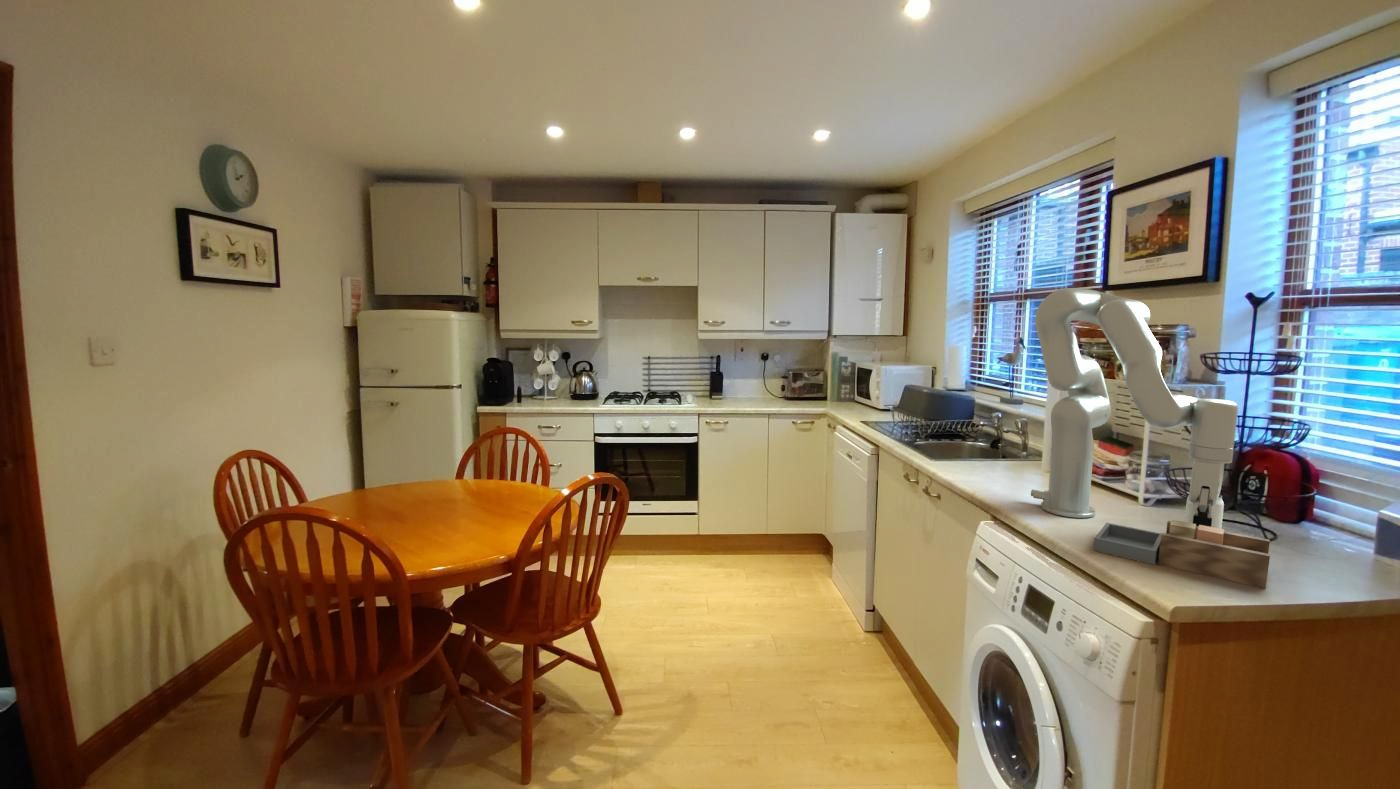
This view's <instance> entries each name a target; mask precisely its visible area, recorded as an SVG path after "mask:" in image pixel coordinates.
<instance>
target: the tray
mask: <svg viewBox="0 0 1400 789" xmlns="http://www.w3.org/2000/svg"><path fill="white" fill-rule="evenodd" d="M1162 533H1163V532H1156V531H1152V530H1151V531H1150V530H1146V529H1140V528H1136V527H1130V526H1126V525H1119V524H1116V523H1110V522H1106V523H1105V524H1104V525H1103V527H1102V528H1100V531H1099V532H1097V534H1096V535H1095V537H1094V540H1093V550H1095V551H1094V552H1097V551H1100V552H1099V553H1101V552H1104V553H1103V554H1105V553H1108V554H1107V555H1110V554H1112V555H1111V556H1114V555H1116V556H1115V557H1118V556H1121V557H1120V558H1123V557H1125V558H1124V559H1127V558H1130V559H1129V560H1132V559H1135V560H1134V561H1136V560H1139V561H1138V562H1140V561H1142V563H1145V562H1147V563H1146V564H1149V563H1151V564H1150V565H1153V564H1155V565H1156V562H1157V561H1158V560H1159V552H1160V542H1161V534H1162Z"/></svg>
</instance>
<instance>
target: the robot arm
mask: <svg viewBox="0 0 1400 789" xmlns="http://www.w3.org/2000/svg"><path fill="white" fill-rule="evenodd" d="M1034 318H1035V320H1034V324H1035V329H1036V334H1037V337H1038V340H1039V344H1040V349H1041V354H1042V360H1043V363H1044V367H1045V372H1046V376H1047V380H1048V383H1049V385H1050V386H1051V387H1052V388H1054V389H1055V390H1058V391H1059V392H1060V391H1061V392H1067V393H1068V396H1065V397H1063V398H1061V399H1059V400H1058V401H1057V402H1055V404H1054V405H1053V406H1052V408H1051V412H1050V424H1051V425H1050V426H1051V454H1050V455H1051V456H1050V464H1049V468H1050V469H1049V480H1048V490H1044V491H1040V490H1037V489H1031V492H1030V496H1031V497H1033V498H1034V499H1038V500H1042V502H1041V503H1040V507H1041V509H1042V510H1043V511H1045V512H1047V513H1050V514H1053V515H1057V516H1061V517H1062V516H1063V517H1065V518H1066V517H1068V518H1077V519H1085V518H1093V517H1094V516H1096V512H1097V511H1096V509H1094V508H1093V507H1092V506H1090V496H1091V488H1092V487H1091V485H1092V477H1093V476H1092V474H1093V464H1094V462H1093V460H1094V449H1095V448H1094V447H1095V446H1094V436H1093V429H1095V428H1099V427H1101V426H1102V425H1104V424H1106V423H1107V421H1109V419H1110V416H1111V413H1112V408H1111V402H1110V397H1109V393H1108V390H1107V389H1108V388H1107V386H1106V385H1107V384H1106V382H1105V381H1106V380H1105V376H1104V374H1103V370H1102V368H1101V366H1100V364H1099V363H1098V362H1097V360H1095V359H1094V358H1092V357H1090V356H1088V355H1085V354H1081V352H1080V348H1079V344H1078V339H1077V335H1076V334H1075V332H1074V330H1073V328H1072V326H1071V322H1072V321H1074V322H1075V321H1076V322H1077V321H1081V322H1086V323H1090V324H1094V325H1097V326H1099V327H1100V329H1101V330H1102V333H1103V334H1104V336H1105V338H1106V340H1107V341H1108V343H1109V345H1110V346H1111V348H1112V350H1113V351H1114V352H1115V354H1116V357H1117V358H1118V360H1119V362H1120V364H1121V366H1122V370H1123V377H1124V380H1125V384H1126V387H1127V390H1128V393H1129V395H1130V398H1131V399H1132V401H1133V403H1134V405H1135V407H1136V408H1137V410H1138V412H1139V413H1140V415H1141V416H1142V418H1143V419H1144V421H1146V422H1147V423H1148V424H1149V425H1150V426H1151V427H1154V428H1157V429H1159V430H1168V429H1174V428H1177V427H1184V426H1189V427H1190V426H1191V429H1190V439H1189V447H1188V448H1189V449H1188V459H1190V460H1193V464H1192V469H1191V475H1190V476H1191V477H1190V484H1189V485H1190V486H1189V493H1188V496H1189V499H1188V501H1189V502H1191V503H1192V501H1196V499H1197V501H1196V508H1195V515H1193V524H1196V526H1199V525H1204V526H1209V527H1211V525H1212V518H1211V511H1212V506H1215V505H1216V504H1217V501H1218V498H1219V495H1221V490H1222V484H1223V481H1224V480H1223V479H1224V473H1225V472H1224V470H1225V464H1232V463H1233V457H1234V449H1235V448H1234V446H1235V439H1236V430H1237V423H1238V422H1237V420H1238V414H1239V412H1238V411H1239V406H1238V404H1237V403H1236V402H1234V401H1232V400H1228V399H1221V398H1200V397H1194V396H1191V395H1190V396H1189V395H1184V394H1172V392H1171V391H1170V389H1169V387H1168V385H1167V383H1166V382H1165V380H1164V378H1163V375H1162V372H1161V362H1162V358H1163V349H1162V347H1161V345H1160V344H1159V342H1158V341H1157V339H1156V337H1155V336H1154V334H1153V333H1152V331H1151V330H1150V328H1149V326H1148V324H1149V323H1150V320H1151V312H1150V309H1149V307H1148V306H1147V305H1146V304H1144V303H1143V302H1142V301H1140V300H1136V299H1131V298H1127V297H1122V296H1118V295H1115V294H1111V293H1107V292H1103V291H1098V290H1094V289H1089V288H1088V289H1087V288H1075V287H1068V288H1067V287H1066V288H1060V289H1057V290H1055V291H1053V292H1051V293H1050V294H1048V295H1047V296H1046V297H1045V298H1043V300H1042V301H1041V302H1040V304H1039V306H1038V307H1037V309H1036V313H1035V317H1034ZM1199 495H1200V496H1199ZM1210 498H1211V501H1210ZM1199 500H1200V502H1199ZM1207 501H1208V502H1210V504H1208V503H1207ZM1207 507H1209V509H1208V508H1207Z"/></svg>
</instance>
